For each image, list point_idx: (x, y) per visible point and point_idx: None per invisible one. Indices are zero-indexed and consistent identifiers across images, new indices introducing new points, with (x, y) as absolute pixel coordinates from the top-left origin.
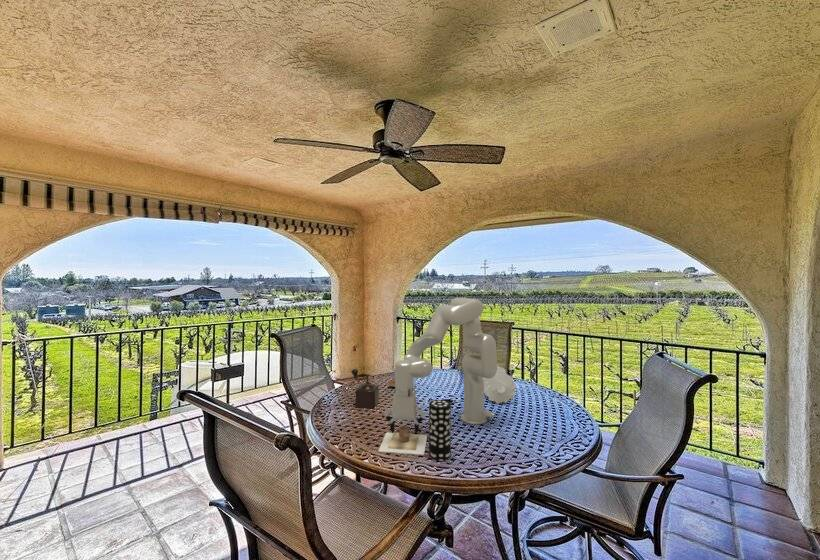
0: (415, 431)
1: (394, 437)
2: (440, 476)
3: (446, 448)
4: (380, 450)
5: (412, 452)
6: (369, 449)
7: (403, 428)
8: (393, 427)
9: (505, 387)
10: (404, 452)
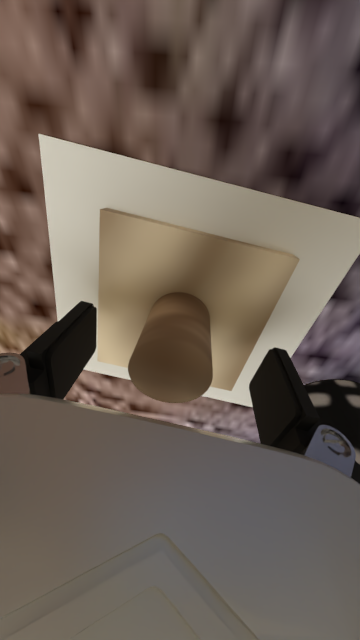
0: (256, 407)
1: (117, 279)
2: None
3: None
4: None
5: (211, 392)
6: (18, 337)
7: (164, 378)
8: (76, 373)
9: None
10: None
